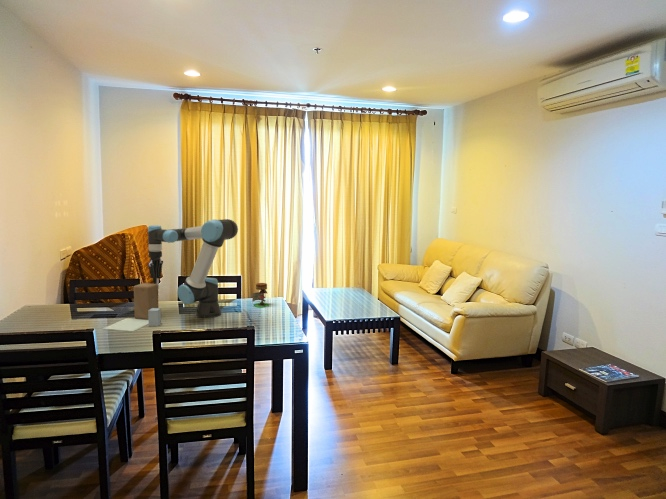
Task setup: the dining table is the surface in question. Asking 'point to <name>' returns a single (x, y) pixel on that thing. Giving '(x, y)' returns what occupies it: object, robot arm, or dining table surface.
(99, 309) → the dining table surface
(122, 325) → the mat
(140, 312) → the wooden block
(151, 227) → the robot arm
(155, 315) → the light grey block
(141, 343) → the dining table surface
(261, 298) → the figurine on green base
